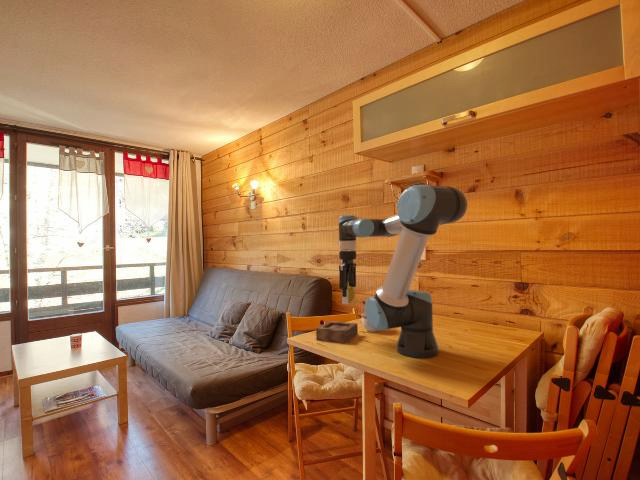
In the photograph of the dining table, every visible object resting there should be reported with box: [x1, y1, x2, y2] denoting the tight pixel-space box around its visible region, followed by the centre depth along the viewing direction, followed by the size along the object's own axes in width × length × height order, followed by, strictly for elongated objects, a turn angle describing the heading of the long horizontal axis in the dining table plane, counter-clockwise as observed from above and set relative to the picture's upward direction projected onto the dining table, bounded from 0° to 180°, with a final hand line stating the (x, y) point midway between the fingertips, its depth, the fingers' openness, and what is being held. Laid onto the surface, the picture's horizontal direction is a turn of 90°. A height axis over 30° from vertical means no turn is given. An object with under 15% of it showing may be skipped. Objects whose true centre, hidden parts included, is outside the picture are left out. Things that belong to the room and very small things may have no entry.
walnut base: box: [315, 320, 359, 344], centre depth 146 cm, size 14×14×5 cm
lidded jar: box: [360, 312, 380, 333], centre depth 156 cm, size 11×11×9 cm
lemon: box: [347, 284, 355, 304], centre depth 144 cm, size 6×6×8 cm
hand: (348, 302), depth 145 cm, fingers closed on lemon, 5 cm apart
